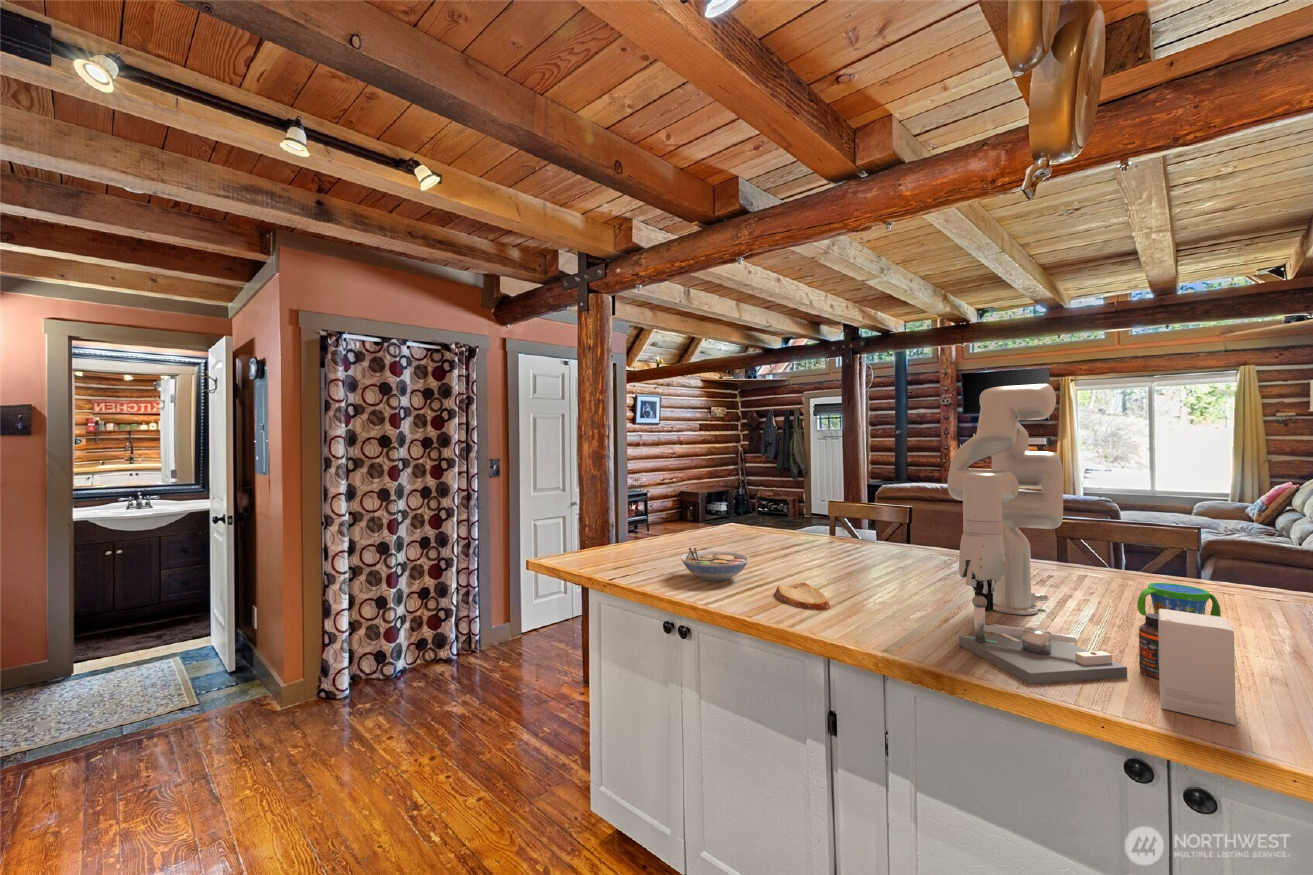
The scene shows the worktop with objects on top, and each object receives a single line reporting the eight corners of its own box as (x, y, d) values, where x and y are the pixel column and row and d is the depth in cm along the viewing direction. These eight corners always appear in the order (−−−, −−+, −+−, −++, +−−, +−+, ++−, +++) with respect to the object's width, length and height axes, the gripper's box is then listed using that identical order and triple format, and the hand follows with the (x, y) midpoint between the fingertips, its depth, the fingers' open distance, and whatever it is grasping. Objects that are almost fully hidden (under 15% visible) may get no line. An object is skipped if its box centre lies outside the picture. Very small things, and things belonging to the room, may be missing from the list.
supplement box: (1238, 727, 86) (1235, 630, 86) (1160, 709, 92) (1158, 619, 92) (1231, 706, 93) (1229, 617, 93) (1159, 690, 99) (1157, 607, 99)
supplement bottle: (1131, 670, 108) (1129, 611, 108) (1158, 668, 109) (1157, 610, 109) (1161, 683, 102) (1160, 621, 102) (1190, 681, 103) (1189, 620, 103)
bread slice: (828, 613, 147) (828, 599, 147) (763, 604, 156) (763, 590, 156) (842, 597, 163) (842, 584, 163) (782, 589, 172) (782, 577, 172)
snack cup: (1205, 627, 132) (1204, 584, 132) (1236, 642, 122) (1235, 596, 122) (1126, 621, 137) (1125, 580, 137) (1150, 635, 127) (1149, 591, 127)
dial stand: (1041, 640, 124) (1041, 623, 124) (1127, 677, 104) (1126, 656, 105) (959, 645, 122) (958, 627, 122) (1030, 684, 102) (1030, 662, 102)
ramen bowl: (755, 588, 171) (755, 562, 171) (682, 589, 172) (681, 562, 172) (744, 570, 196) (743, 547, 196) (679, 570, 197) (679, 547, 197)
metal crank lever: (1074, 650, 112) (1073, 603, 112) (1077, 659, 108) (1076, 609, 108) (973, 635, 121) (972, 591, 122) (972, 642, 117) (971, 597, 117)
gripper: (986, 522, 130) (988, 600, 130) (945, 528, 124) (946, 610, 124) (1019, 527, 124) (1021, 609, 124) (977, 533, 117) (979, 619, 117)
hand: (984, 609), depth 124 cm, fingers closed
